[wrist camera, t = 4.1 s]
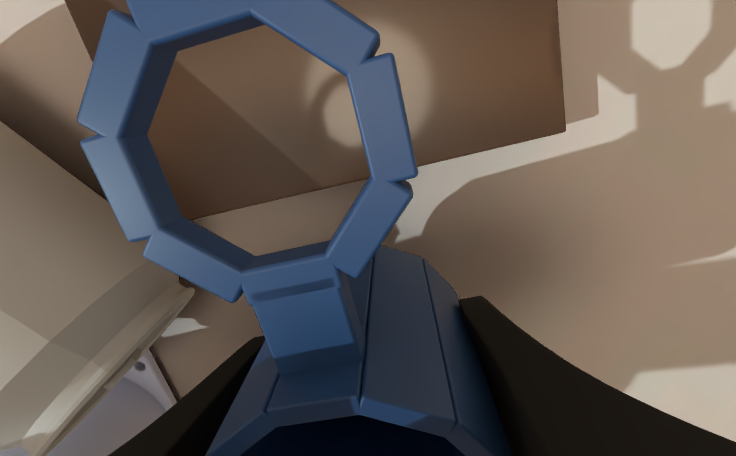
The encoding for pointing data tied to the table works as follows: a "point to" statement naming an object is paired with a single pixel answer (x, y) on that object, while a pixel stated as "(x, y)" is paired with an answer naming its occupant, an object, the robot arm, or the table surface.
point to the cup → (301, 253)
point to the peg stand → (346, 97)
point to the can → (67, 299)
